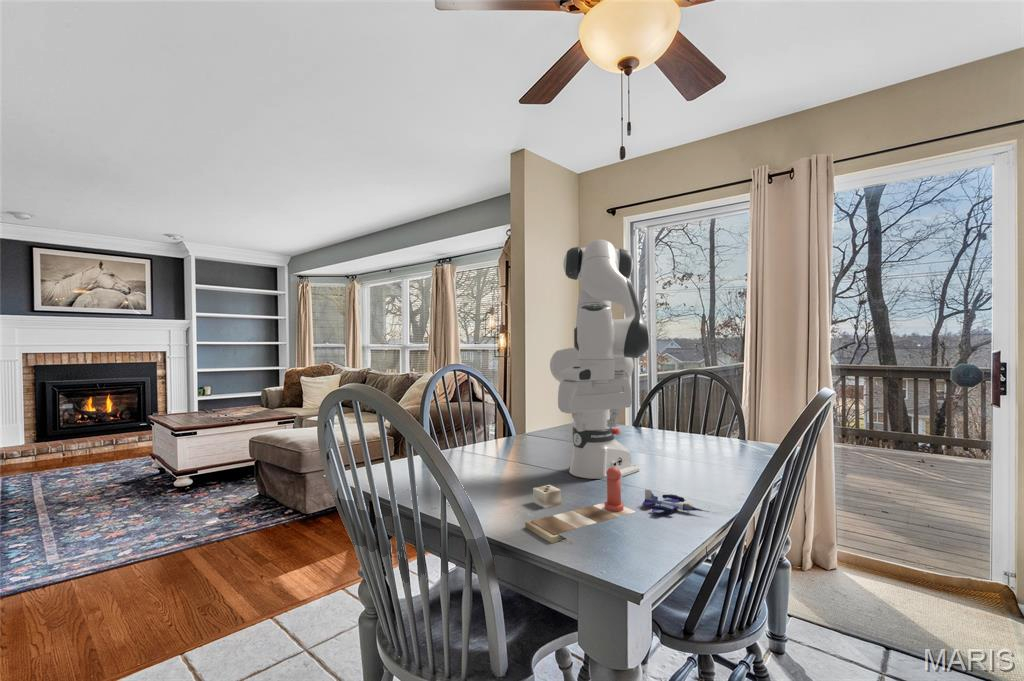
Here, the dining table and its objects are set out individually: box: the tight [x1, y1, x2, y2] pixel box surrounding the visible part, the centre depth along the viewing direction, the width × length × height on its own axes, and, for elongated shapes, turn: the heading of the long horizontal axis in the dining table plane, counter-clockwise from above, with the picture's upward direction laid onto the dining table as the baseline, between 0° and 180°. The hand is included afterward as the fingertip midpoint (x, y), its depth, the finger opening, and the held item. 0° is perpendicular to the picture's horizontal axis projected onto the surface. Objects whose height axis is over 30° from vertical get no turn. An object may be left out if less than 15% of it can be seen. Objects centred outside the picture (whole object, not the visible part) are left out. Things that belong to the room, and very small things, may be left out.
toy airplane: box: [641, 489, 715, 515], centre depth 114 cm, size 13×14×4 cm
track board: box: [524, 502, 637, 544], centre depth 111 cm, size 26×10×1 cm, turn 121°
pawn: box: [604, 467, 625, 512], centre depth 115 cm, size 4×4×10 cm
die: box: [532, 484, 562, 509], centre depth 120 cm, size 5×5×5 cm
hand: (596, 429), depth 116 cm, fingers open, 8 cm apart
